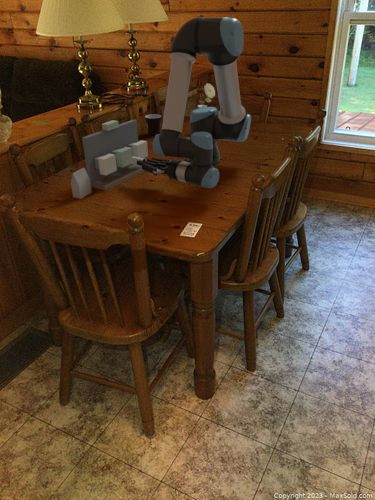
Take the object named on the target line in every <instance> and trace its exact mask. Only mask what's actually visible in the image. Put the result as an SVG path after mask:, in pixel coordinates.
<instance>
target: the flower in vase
mask: <svg viewBox="0 0 375 500" xmlns="http://www.w3.org/2000/svg"><path fill="white" fill-rule="evenodd" d="M203 88H204V89H203V90H204V94H205V98H204V100H201V99H199V103H200V104H198V105H197V108H198V109H199V108H204V107H208V105H207V104H209V103H211V102H212V99H214V97H215V96H216V90H215V87H214V86H213V85H212V84H211V83H206V84H205V85H204V87H203ZM205 102H207V104H205Z"/></svg>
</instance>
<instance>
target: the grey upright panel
mask: <svg viewBox="0 0 375 500" xmlns="http://www.w3.org/2000/svg"><path fill="white" fill-rule="evenodd" d="M101 128H102V130H99V131H96V132H95V133H91V134H88V135H86V136H83V137H81V140H82V147H83V154H84V160H85V166H86V168H85V169H86V173H87V174H88V176H89V178H90V185H91V188H95V189H99V190H101V191H107V190H110V189H112V188H113V187H116V186H118V185H120V184H121V183H124V182H126V181H128V180H131V179H132V178H134V177H136V176H138V175H140V174H142V173H144V172H146V171H145V170H143V169H142V166H140V165H135V164H130V165H128V166H125V167H123V168H122V167H118V166H117V162H116V166H117V171H114V172H112V173H110V174H108V175H102V174H100V170H99V169H95V166H94V159H93V158H94V157H97V156H99V155H101V156H105V155H107V154H111V151H112V150H114V149H117V148H118V149H122V148H124V147H127V144H129V143H131V142H135V143H136V142H139V132H138V122H137V119H131V120H128V121H125V122H122V123H119V120H114V119H113V120H108V121H106V122H104V123H101ZM132 156H133V155H132Z"/></svg>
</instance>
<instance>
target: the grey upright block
mask: <svg viewBox="0 0 375 500" xmlns="http://www.w3.org/2000/svg"><path fill="white" fill-rule="evenodd" d="M71 175H72V176H71V181H70V187H71V192H72V198H75V199H80V200H81V199H83V198H85V197H86V196H89V195H90V194H91V193H92V187H91V185H90V178H89V176H88V174H87V169H86V168H85V167H82V168H80V169H78V170H76V171H74V172H73V173H72V174H71Z"/></svg>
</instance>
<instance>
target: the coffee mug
mask: <svg viewBox="0 0 375 500" xmlns="http://www.w3.org/2000/svg"><path fill="white" fill-rule="evenodd" d="M144 117H145V123H146V129H147V134H148V135H147V136H148V137H151V136H156V135H157V134H161V131H162V115H161V114H156V113H154V114H147V115H145V116H144Z"/></svg>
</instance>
